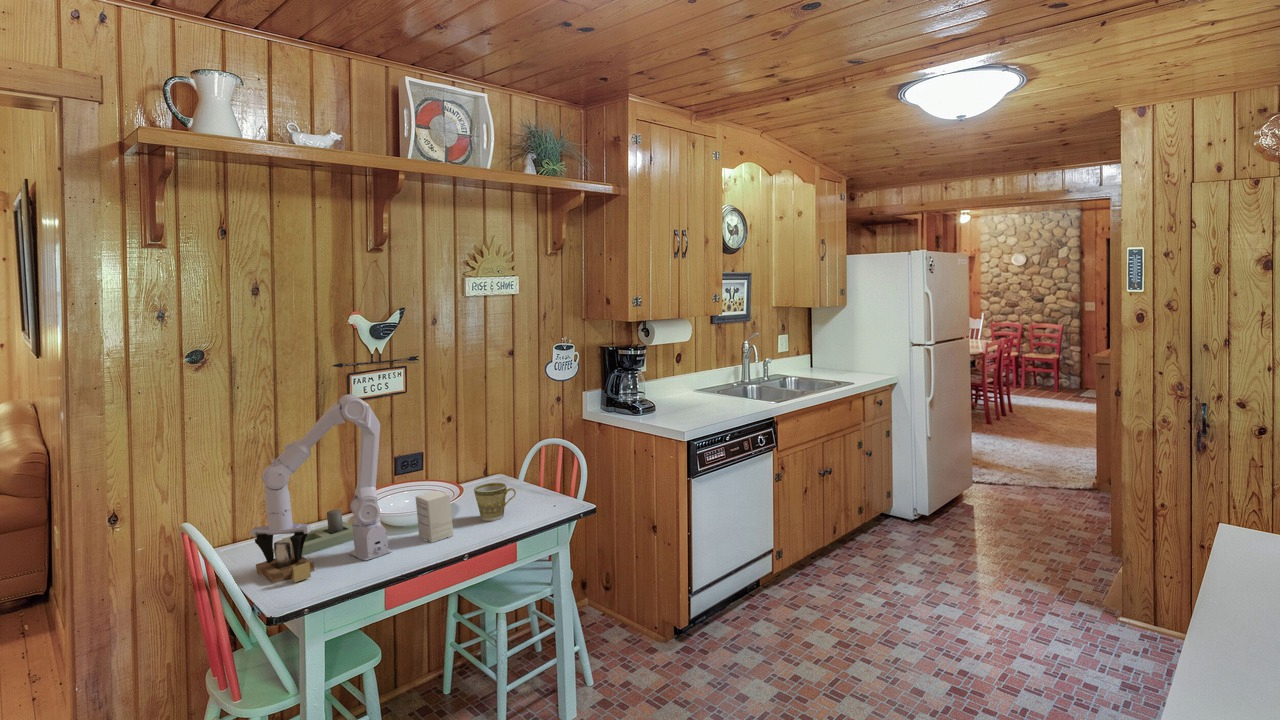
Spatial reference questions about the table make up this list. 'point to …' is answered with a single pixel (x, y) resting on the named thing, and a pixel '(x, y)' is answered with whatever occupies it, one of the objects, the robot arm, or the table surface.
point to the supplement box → (434, 516)
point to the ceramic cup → (492, 500)
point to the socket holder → (279, 570)
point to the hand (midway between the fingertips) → (284, 560)
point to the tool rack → (327, 534)
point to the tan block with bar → (300, 571)
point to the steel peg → (283, 553)
